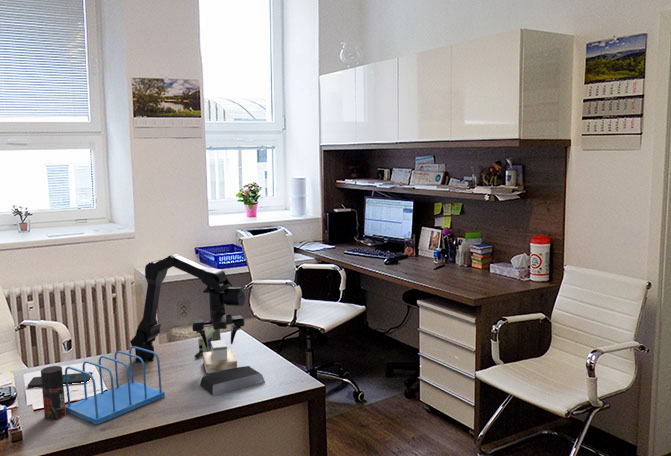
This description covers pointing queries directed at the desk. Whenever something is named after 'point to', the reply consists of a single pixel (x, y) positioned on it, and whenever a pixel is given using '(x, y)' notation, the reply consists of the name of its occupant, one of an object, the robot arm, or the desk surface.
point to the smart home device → (71, 379)
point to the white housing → (219, 350)
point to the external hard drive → (231, 380)
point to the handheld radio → (208, 341)
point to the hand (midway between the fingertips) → (219, 345)
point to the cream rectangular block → (219, 362)
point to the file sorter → (113, 393)
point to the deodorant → (53, 393)
